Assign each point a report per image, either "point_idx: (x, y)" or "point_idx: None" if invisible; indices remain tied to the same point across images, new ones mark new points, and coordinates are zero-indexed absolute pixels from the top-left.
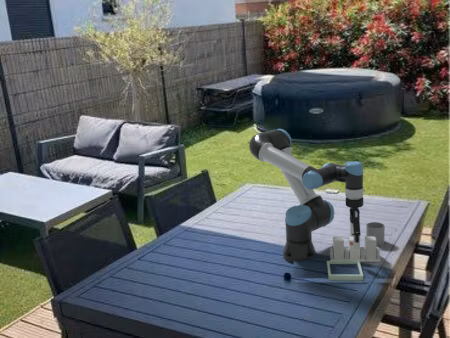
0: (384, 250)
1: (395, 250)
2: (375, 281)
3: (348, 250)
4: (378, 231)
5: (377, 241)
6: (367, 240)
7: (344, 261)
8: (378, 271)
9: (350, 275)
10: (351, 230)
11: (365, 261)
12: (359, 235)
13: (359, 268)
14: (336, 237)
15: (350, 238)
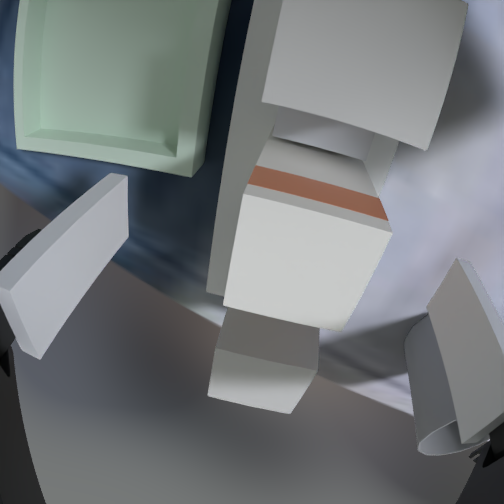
0: (370, 349)
1: (349, 378)
2: (43, 190)
3: (278, 134)
4: (421, 422)
5: (414, 366)
6: (215, 354)
7: (194, 61)
8: (132, 239)
9: (14, 80)
10: (478, 324)
11: (216, 216)
12: (24, 339)
13: (81, 145)
14: (425, 36)
15: (317, 228)
